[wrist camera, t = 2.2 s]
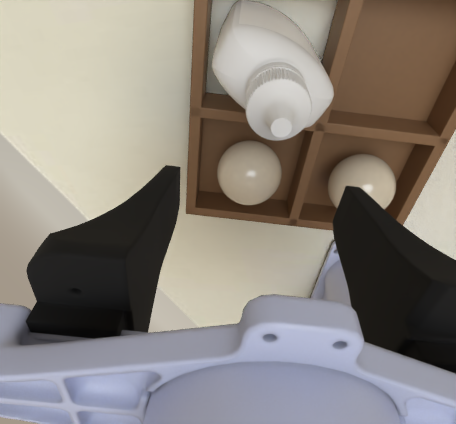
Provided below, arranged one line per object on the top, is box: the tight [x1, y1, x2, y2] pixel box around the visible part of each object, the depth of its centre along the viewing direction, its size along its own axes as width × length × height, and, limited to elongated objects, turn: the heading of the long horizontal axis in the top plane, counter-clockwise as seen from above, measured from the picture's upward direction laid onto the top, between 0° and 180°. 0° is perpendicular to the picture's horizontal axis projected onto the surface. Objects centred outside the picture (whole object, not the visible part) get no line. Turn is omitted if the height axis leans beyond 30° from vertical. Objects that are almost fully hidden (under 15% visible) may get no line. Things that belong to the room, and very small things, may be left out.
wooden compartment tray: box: [186, 0, 456, 230], centre depth 23 cm, size 16×16×3 cm
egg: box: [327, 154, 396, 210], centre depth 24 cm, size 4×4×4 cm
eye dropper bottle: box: [212, 0, 334, 141], centre depth 16 cm, size 4×6×12 cm
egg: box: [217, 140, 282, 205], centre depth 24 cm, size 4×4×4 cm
